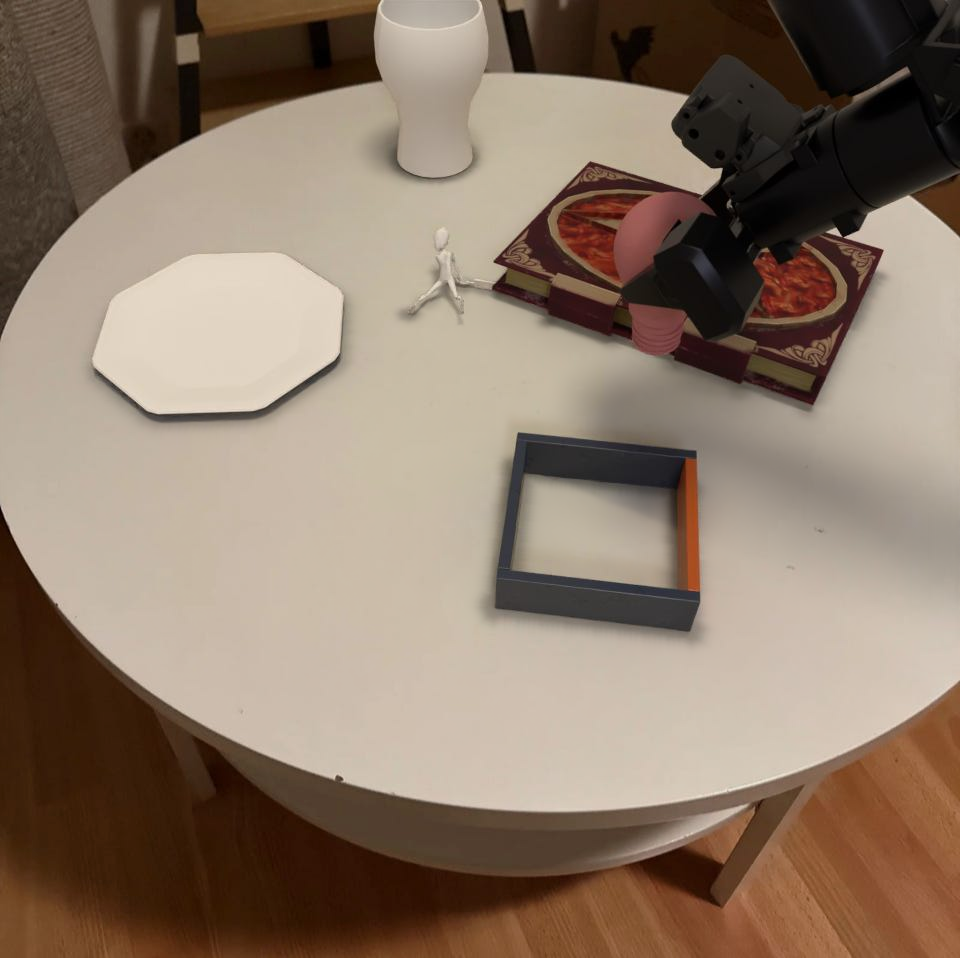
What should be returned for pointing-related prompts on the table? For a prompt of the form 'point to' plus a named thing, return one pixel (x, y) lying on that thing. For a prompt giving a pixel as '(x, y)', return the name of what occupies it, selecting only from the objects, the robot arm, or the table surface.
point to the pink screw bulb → (635, 253)
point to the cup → (432, 78)
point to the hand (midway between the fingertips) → (646, 265)
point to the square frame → (597, 595)
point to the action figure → (449, 270)
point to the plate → (220, 334)
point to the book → (741, 357)
